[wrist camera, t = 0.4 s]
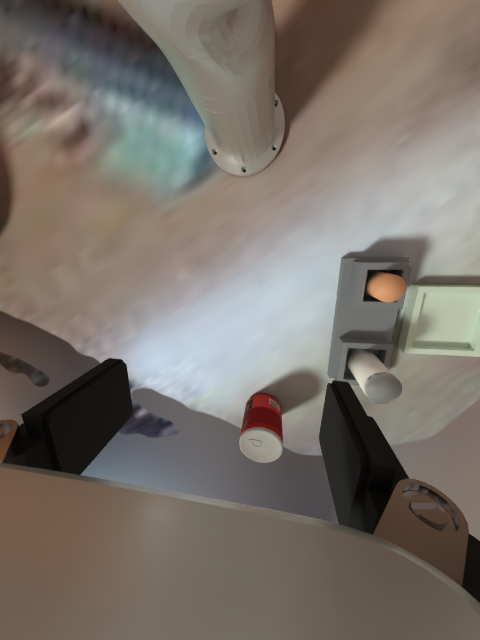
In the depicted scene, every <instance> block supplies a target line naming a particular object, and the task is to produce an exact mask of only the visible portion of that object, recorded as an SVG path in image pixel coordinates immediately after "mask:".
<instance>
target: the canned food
mask: <svg viewBox="0 0 480 640" xmlns="http://www.w3.org/2000/svg"><path fill="white" fill-rule="evenodd" d="M239 444H240V449H241V451H242V452H243V453H244V454H245V456H247V457H248V458H249V459H252V460H254V461H257V462H263V463H266V462H272V461H274V460H276V459H277V458H279V456H280V455H281V453H282V450H283V435H282V415H281V406H280V404H279V402H278V401H277V400H276V399H275V398H274V397H273V396H271V395H268V394H263V393H260V394H256V395H253V396H252V397H251V398H250V399H249V400H248V401H247V403H246V408H245V413H244V418H243V424H242V429H241V434H240V443H239Z"/></svg>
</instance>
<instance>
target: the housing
mask: <svg viewBox="0 0 480 640" xmlns="http://www.w3.org/2000/svg"><path fill="white" fill-rule="evenodd" d="M408 260H409V258H341V266H340V275H339V283H338V291H337V300H336V308H335V316H334V325H333V333H332V341H331V350H330V358H329V366H328V376H329V378H335V380H336V381H346V382H348V383H349V384H350V385H359V383H358V382H357V380H356V378H355V377H354V375H353V374H352V372H351V370H350V369H349V367H348V366H347V364H346V357H347V353H348V352H349V351H350V350H351V349H353V348H358V349H369V350H370V351H371V352H372V353H373V354H374V355H375V356H376V357H377V358H378V359H379V360H380V361H381V362H382V363H383V364H384V365H385V366H386V367H387V369H388V370H389V367H390V362H391V357H392V352H393V348H394V344H392V343H391V342H392V337H393V332H394V327H395V322H396V318H397V313H398V309H403V304H404V299H405V295H406V290H407V285H408V281H409V276H410V271H411V266H412V263H411V262H408ZM377 272H384V273H389V274H393V275H398V276H400V277H401V278H403V280H404V281H405V284H406V289H405V292H404V294H403V295H402V297H401V298H399V299H398V300H396V301H394V302H383V301H381V300H379V299H377V298H374V297H372V296H370V295H369V294H368V293H367V292H366V290H365V284H366V280H367V279H368V277H369V276H371V275H372V274H374V273H377Z"/></svg>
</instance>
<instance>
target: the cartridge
mask: <svg viewBox="0 0 480 640" xmlns="http://www.w3.org/2000/svg"><path fill="white" fill-rule="evenodd" d="M346 364H347V366H348V367H349V369H350V370H351V372H352V374H353V375H354V377H355V378H356V380H357V382H358V383H359V385H360V386H361V388H362V390H363V391H364V393H365V394H366V396H367V398H368V399H369V400H371V401H372V402H374V403H377V404H387V403H391V402H393V401H395V400H396V399H397V398H398V397H399V396H400V394H401V392H402V385H401V383H400V381H399V380H398V379H397V378H396V377H395V376H394V375H393V374H392V373H391V372H390V371H389V370H388V369H387V367H386V366H385V365H384V364H383V363H382V362H381V361H380V360H379V359H378V358H377V357H376V356H375V355H374V354H373V353H372V352H371V351H370V350H369V349H358V348H353V349H351V350H350V351H349V352H348V353H347V357H346Z"/></svg>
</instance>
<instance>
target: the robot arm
mask: <svg viewBox="0 0 480 640" xmlns="http://www.w3.org/2000/svg"><path fill="white" fill-rule="evenodd" d="M118 1H119V2H120V4H121V5H122V6H123V7H124V8H125V10H126V11H127V12H128V13H129V14H130V15H131V17H132V18H133V19H134V20H135V21H136V22H137V24H138V25H139V26H140V27H141V28H142V29H143V30H144V31H145V32H146V33H147V34H148V35H149V36H150V37H151V38H152V39H153V41H154V42H155V43H156V44H157V45H158V46H159V48H160V49H161V50H162V52H163V53H164V55H165V56H166V58H167V59H168V61H169V62H170V64H171V65H172V67H173V69H174V70H175V72H176V74H177V76H178V77H179V79H180V81H181V83H182V84H183V86H184V88H185V90H186V92H187V94H188V95H189V97H190V99H191V101H192V103H193V104H194V106H195V108H196V110H197V111H198V113H199V115H200V117H201V119H202V120H203V122H204V124H205V140H206V144H207V148H208V151H209V153H210V155H211V157H212V158H213V160H214V161H215V163H216V164H217V165H218V166H219V167H220V168H221V169H222V170H224V171H225V172H226V173H228V174H231V175H233V176H238V177H248V176H252V175H255V174H257V173H260V172H261V171H263V170H264V169H265V168H267V167H268V166H269V165H270V164H271V163H272V162H273V160H274V159H275V157H276V156H277V154H278V152H279V150H280V148H281V145H282V142H283V138H284V131H285V116H284V110H283V106H282V103H281V101H280V99H279V97H278V95H277V93H276V92H275V21H274V11H273V5H272V0H118ZM275 105H277V107H275ZM273 148H275V149H276V150H275V151H273ZM216 152H217V154H216V155H214V154H215V153H216ZM244 170H246V172H245V173H244V172H243V171H244ZM132 411H133V408H132V401H131V394H130V387H129V380H128V373H127V366H126V364H125V363H124V362H123V360H121V359H112V358H109V359H107V360H105V361H104V362H102V363H101V364H99V365H98V366H96V367H94V368H93V369H92V370H90V371H88V372H87V373H85V374H84V375H82V376H80V377H79V378H78V379H76V380H74V381H73V382H71V383H70V384H68V385H66V386H65V387H63V388H62V389H60V390H59V391H57V392H56V393H54V394H52V395H51V396H49V397H48V398H46V399H45V400H43V401H42V402H40V403H38V404H37V405H35V406H34V407H32V408H31V409H29V410H28V411H26V412H24V413H23V414H21V415H22V418H23V421H24V423H23V424H21V425H20V426H19V425H18V423H17V422H16V421H14V420H1V421H0V640H480V541H479V540H477V539H476V538H475V537H473V536H472V535H470V534H469V529H468V523H467V521H466V519H465V517H464V515H463V513H462V512H461V511H460V509H459V508H458V507H457V506H456V504H455V503H454V502H453V501H452V500H451V499H449V498H448V497H447V496H446V495H445V494H444V493H442V492H441V491H439V490H438V489H436V488H435V487H433V486H431V485H429V484H427V483H425V482H422V481H419V480H416V479H409V477H408V476H407V474H406V472H405V471H404V469H403V467H402V466H401V464H400V462H399V460H398V459H397V457H396V455H395V454H394V452H393V450H392V449H391V447H390V445H389V444H388V442H387V440H386V439H385V437H384V435H383V434H382V432H381V430H380V428H379V427H378V425H377V423H376V422H375V420H374V419H373V418H372V417H369V416H367V414H366V412H365V411H364V409H363V407H362V405H361V404H360V402H359V400H358V398H357V397H356V395H355V393H354V391H353V389H352V388H351V386H350V384H349V383H348V382H346V381H335V380H333V382H332V384H331V383H328V385H327V390H326V397H325V403H324V409H323V415H322V421H321V427H320V434H319V441H320V446H321V450H322V455H323V459H324V463H325V467H326V471H327V475H328V480H329V484H330V488H331V493H332V496H333V501H334V505H335V509H336V514H337V518H338V522H339V524H336V523H332V522H328V521H324V520H320V519H315V518H310V517H305V516H301V515H295V514H291V513H286V512H281V511H276V510H270V509H266V508H261V507H254V506H250V505H244V504H239V503H233V502H227V501H222V500H217V499H212V498H206V497H201V496H195V495H190V494H184V493H178V492H173V491H168V490H162V489H156V488H151V487H145V486H139V485H134V484H128V483H122V482H117V481H111V480H105V479H99V478H93V477H87V476H81V475H80V474H81V473H82V472H83V471H84V470H85V469H86V468H87V466H88V465H89V464H90V463H91V462H92V461H93V460H94V458H95V457H96V456H97V455H98V454H99V453H100V452H101V450H102V449H103V448H104V447H105V446H106V445H107V443H108V442H109V441H110V440H111V439H112V438H113V437H114V435H115V434H116V433H117V432H118V431H119V430H120V429H121V427H122V426H123V425H124V424H125V423H126V422H127V421H128V419H129V418H130V417H131V415H132Z"/></svg>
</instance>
